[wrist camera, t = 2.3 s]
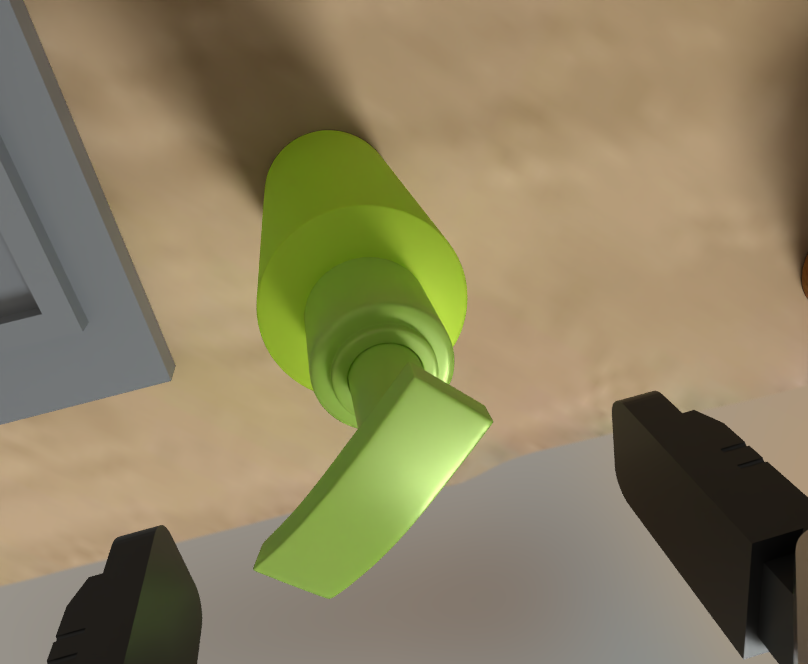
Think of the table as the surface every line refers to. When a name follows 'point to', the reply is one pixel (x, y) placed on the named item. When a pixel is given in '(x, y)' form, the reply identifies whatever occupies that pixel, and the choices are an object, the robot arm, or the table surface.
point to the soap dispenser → (361, 352)
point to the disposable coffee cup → (805, 276)
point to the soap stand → (60, 253)
